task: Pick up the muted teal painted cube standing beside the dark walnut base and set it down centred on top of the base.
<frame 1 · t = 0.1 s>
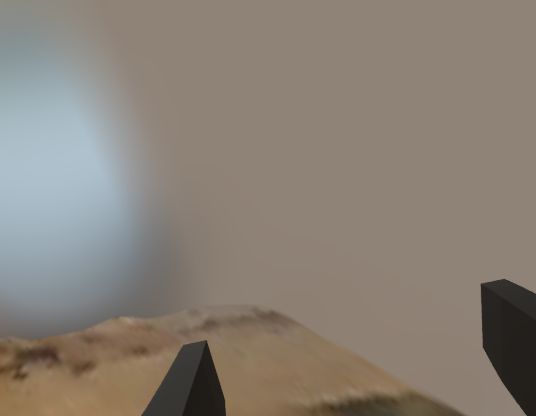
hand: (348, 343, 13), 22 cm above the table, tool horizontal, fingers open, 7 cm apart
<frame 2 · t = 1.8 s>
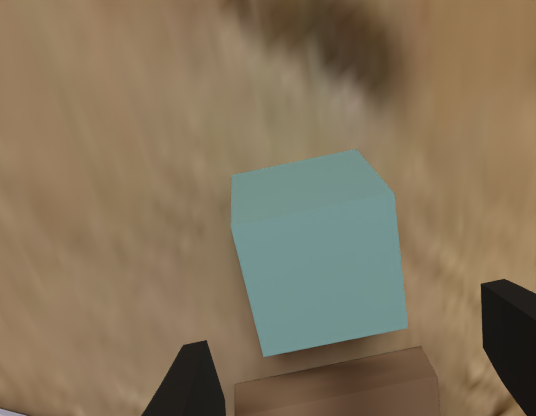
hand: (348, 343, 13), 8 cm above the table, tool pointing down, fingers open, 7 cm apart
teal cube: (304, 218, 20), on the table
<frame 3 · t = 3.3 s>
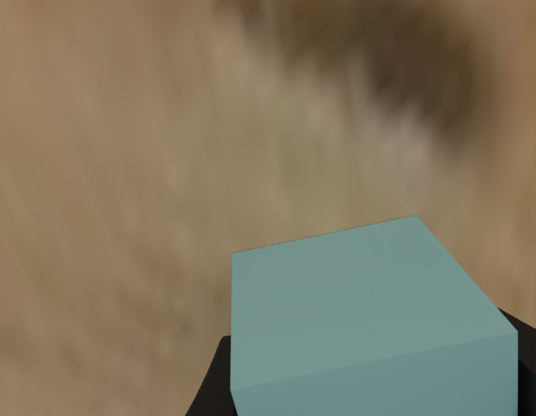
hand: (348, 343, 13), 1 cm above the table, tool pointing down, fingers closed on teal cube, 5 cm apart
teal cube: (337, 311, 14), on the table, touching gripper
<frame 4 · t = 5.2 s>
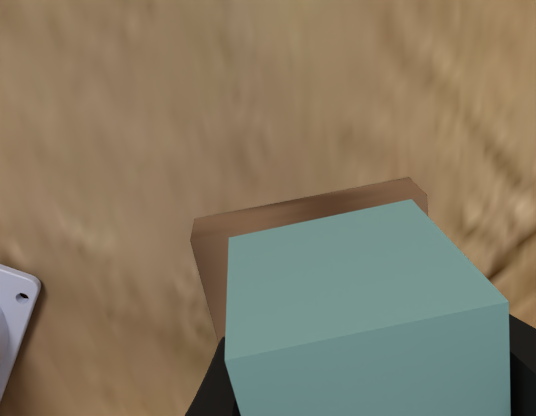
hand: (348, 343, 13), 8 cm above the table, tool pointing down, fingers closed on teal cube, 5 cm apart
walnut base: (317, 290, 22), on the table
teal cube: (333, 296, 14), point 7 cm above the table, touching gripper
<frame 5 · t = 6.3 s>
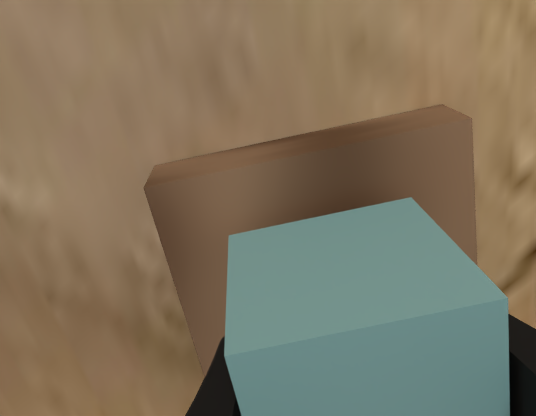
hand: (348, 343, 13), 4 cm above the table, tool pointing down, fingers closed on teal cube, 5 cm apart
walnut base: (320, 261, 17), on the table
teal cube: (333, 294, 14), point 3 cm above the table, touching gripper
when the fingers open (4 cm above the table, at t = 7.1 s): teal cube stays where it is, resting on walnut base.
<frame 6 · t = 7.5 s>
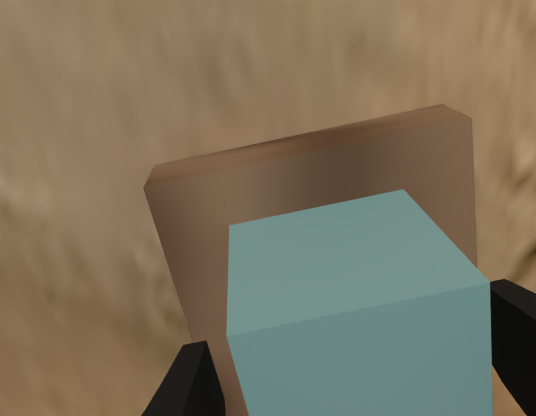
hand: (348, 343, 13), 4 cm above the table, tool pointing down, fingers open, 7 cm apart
walnut base: (320, 261, 17), on the table
teal cube: (329, 282, 15), point 2 cm above the table, touching walnut base
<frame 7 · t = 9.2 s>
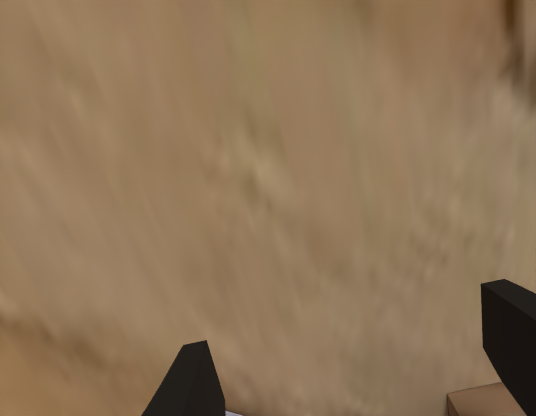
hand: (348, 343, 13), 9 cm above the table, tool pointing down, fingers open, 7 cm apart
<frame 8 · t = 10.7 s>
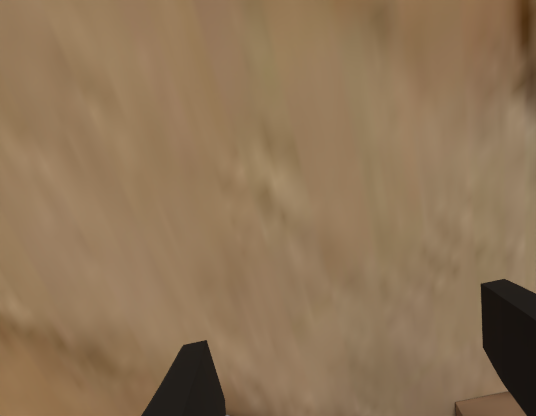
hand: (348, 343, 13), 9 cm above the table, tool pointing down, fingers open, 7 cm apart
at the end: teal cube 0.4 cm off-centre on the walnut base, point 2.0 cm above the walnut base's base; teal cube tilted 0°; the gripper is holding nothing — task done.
